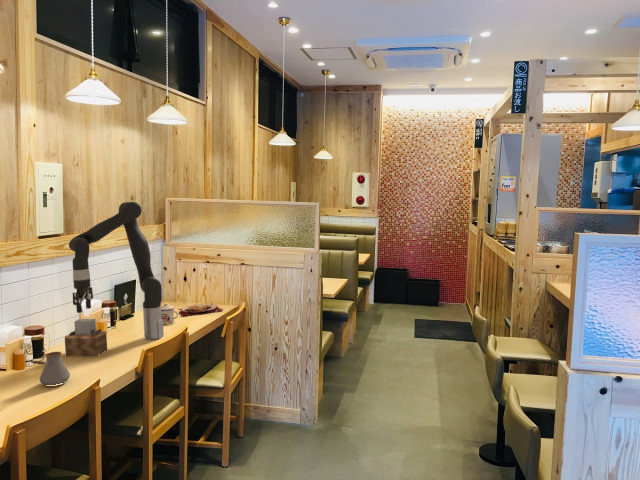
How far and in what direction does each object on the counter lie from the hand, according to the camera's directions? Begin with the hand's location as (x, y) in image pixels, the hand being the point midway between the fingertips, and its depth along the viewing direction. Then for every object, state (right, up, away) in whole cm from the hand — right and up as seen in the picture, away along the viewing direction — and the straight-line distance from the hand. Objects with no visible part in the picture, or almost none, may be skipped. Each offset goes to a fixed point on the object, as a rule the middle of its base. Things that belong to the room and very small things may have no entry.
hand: (84, 310), depth 251 cm
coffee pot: (+5, -26, -42) cm, 50 cm away
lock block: (0, -12, +1) cm, 12 cm away
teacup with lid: (+25, -16, +58) cm, 65 cm away
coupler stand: (0, -22, +2) cm, 22 cm away
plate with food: (+35, -13, +89) cm, 96 cm away
